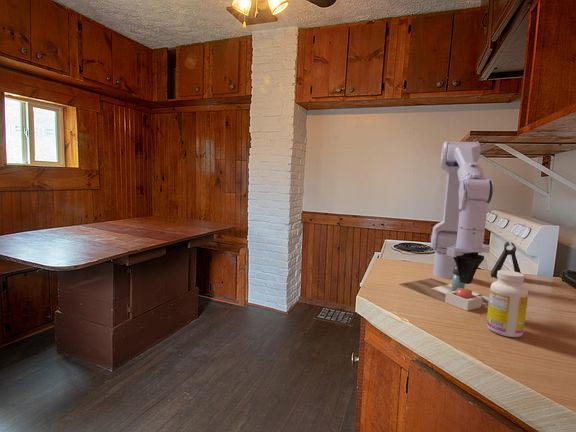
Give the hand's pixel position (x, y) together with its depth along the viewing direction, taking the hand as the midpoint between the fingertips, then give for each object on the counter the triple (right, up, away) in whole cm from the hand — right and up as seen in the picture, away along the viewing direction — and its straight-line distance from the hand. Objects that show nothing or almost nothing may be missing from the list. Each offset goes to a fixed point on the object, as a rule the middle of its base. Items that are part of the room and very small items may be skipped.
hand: (465, 282), depth 80 cm
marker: (+2, -5, +7) cm, 9 cm away
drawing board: (0, -6, +10) cm, 11 cm away
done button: (0, -4, +1) cm, 4 cm away
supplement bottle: (+2, -8, -11) cm, 14 cm away
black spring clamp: (+31, -5, +30) cm, 43 cm away
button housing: (0, -7, +1) cm, 7 cm away
